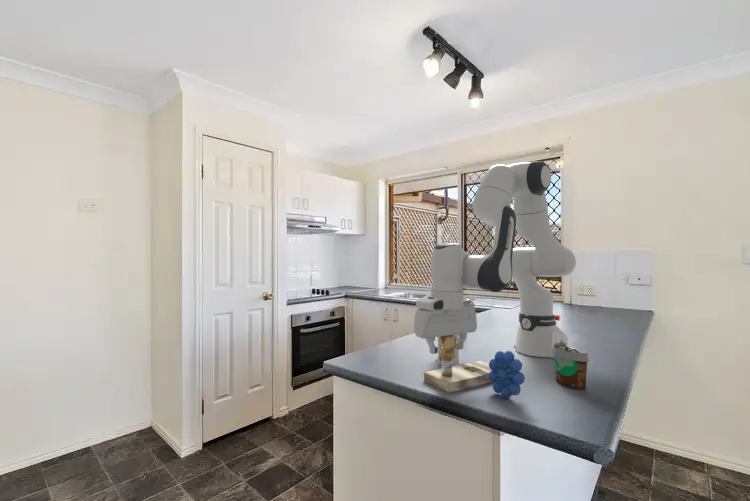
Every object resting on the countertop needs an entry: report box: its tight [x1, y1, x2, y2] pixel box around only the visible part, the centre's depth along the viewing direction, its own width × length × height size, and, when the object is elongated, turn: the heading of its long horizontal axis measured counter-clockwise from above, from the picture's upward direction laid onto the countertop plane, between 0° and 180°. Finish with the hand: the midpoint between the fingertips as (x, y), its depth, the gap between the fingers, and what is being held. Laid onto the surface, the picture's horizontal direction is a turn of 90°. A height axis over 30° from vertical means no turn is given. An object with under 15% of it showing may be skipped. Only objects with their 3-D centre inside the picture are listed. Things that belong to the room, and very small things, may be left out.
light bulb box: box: [437, 334, 460, 366], centre depth 118 cm, size 11×7×11 cm, turn 168°
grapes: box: [488, 350, 526, 399], centre depth 88 cm, size 12×7×12 cm, turn 22°
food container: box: [551, 343, 589, 391], centre depth 98 cm, size 12×6×10 cm, turn 178°
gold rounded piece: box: [439, 335, 455, 377], centre depth 97 cm, size 4×4×11 cm
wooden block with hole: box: [423, 360, 493, 394], centre depth 100 cm, size 22×10×3 cm, turn 120°
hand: (446, 351), depth 97 cm, fingers open, 8 cm apart
